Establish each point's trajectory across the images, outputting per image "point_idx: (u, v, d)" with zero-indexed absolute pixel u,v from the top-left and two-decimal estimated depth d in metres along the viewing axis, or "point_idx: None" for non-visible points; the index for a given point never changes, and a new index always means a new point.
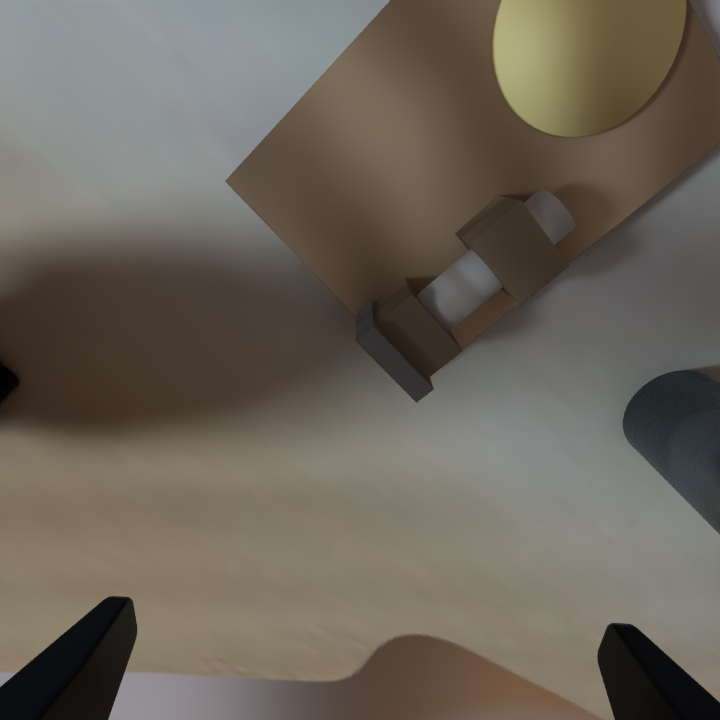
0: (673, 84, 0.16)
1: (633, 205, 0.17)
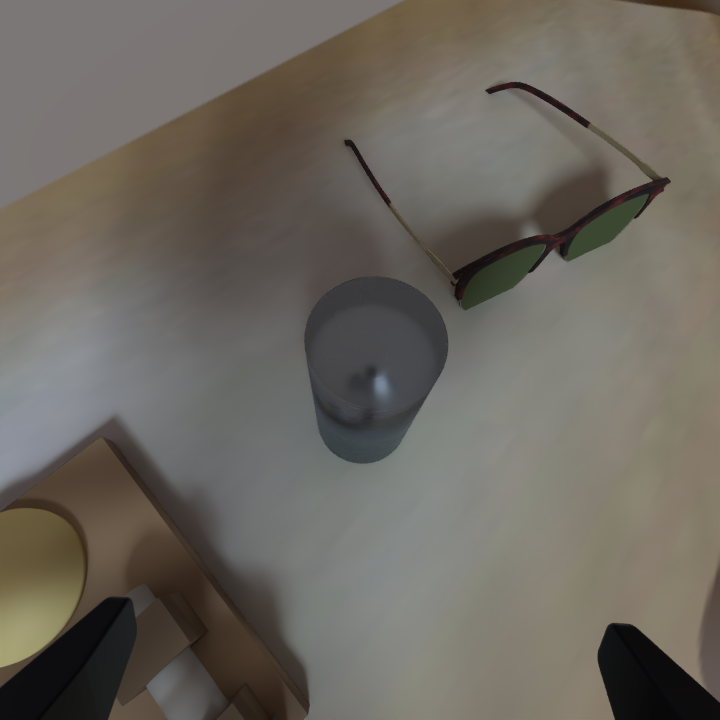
0: (64, 501, 0.21)
1: (151, 512, 0.21)
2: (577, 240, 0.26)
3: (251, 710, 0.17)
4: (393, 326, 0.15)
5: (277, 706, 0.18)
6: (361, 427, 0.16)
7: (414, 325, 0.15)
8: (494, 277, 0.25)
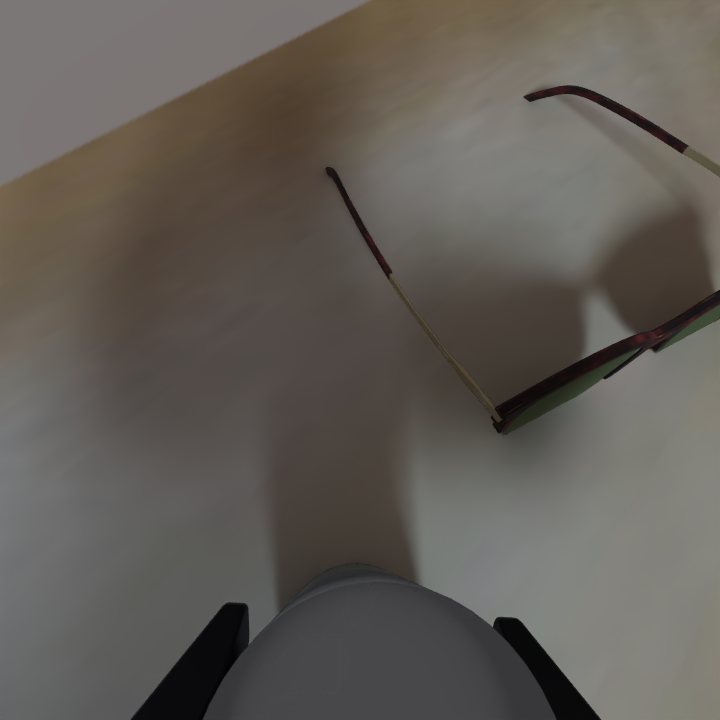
0: None
1: None
2: (682, 329, 0.17)
3: None
4: None
5: None
6: None
7: None
8: (556, 395, 0.16)
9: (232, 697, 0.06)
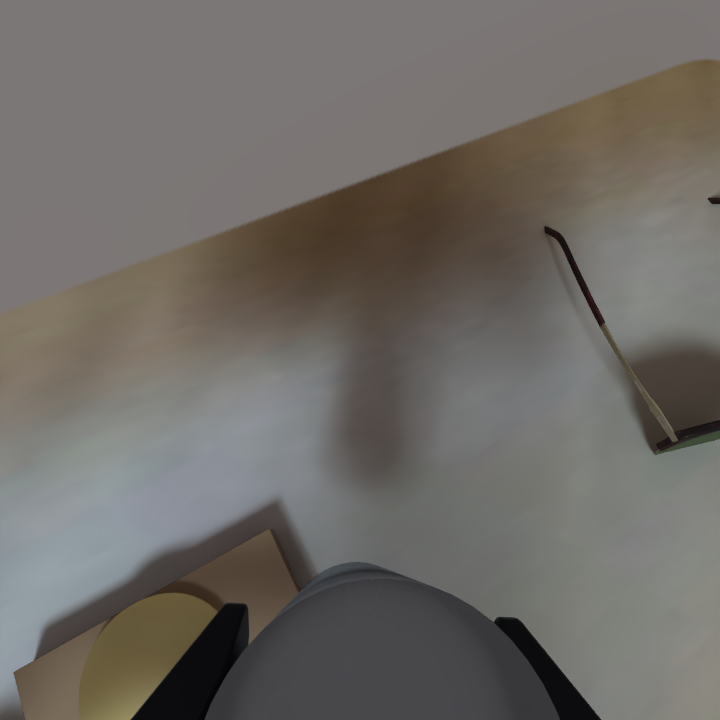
0: (224, 595, 0.20)
1: None
2: None
3: None
4: None
5: None
6: None
7: None
8: (708, 435, 0.22)
9: (235, 693, 0.06)
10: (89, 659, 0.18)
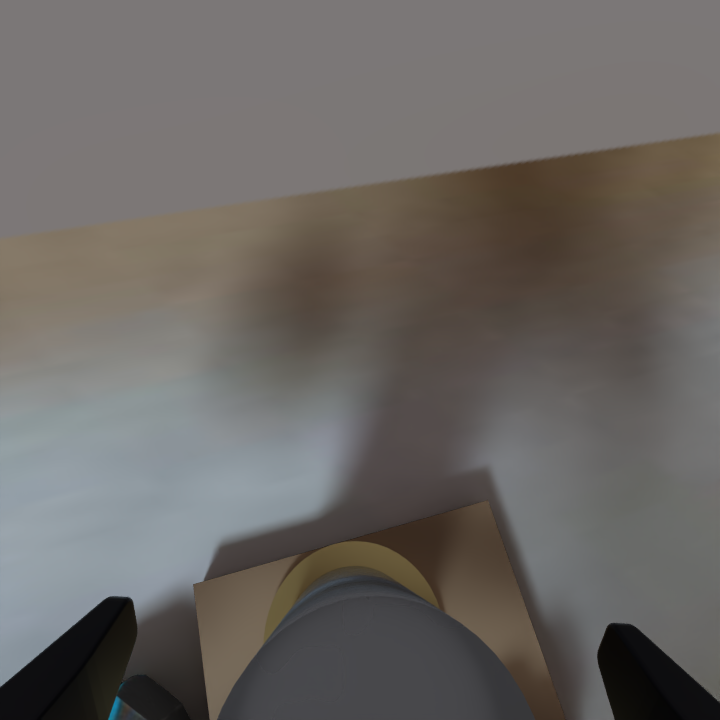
0: (431, 562, 0.17)
1: (529, 633, 0.16)
2: None
3: None
4: None
5: None
6: None
7: None
8: None
9: (242, 702, 0.06)
10: (279, 593, 0.16)
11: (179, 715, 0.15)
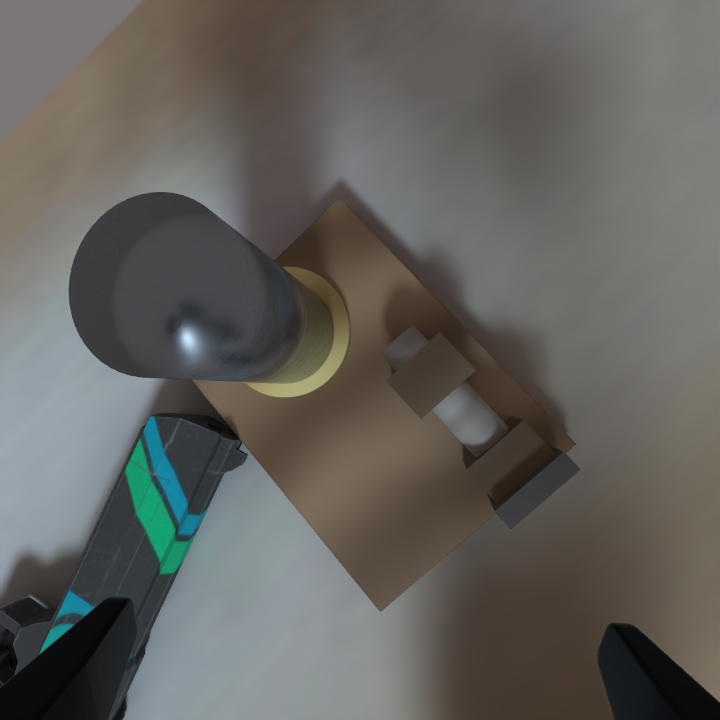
0: (316, 261, 0.22)
1: (401, 268, 0.21)
2: None
3: None
4: (163, 256, 0.11)
5: (545, 436, 0.19)
6: (225, 376, 0.14)
7: (185, 241, 0.11)
8: None
9: (76, 284, 0.12)
10: None
11: (205, 418, 0.23)
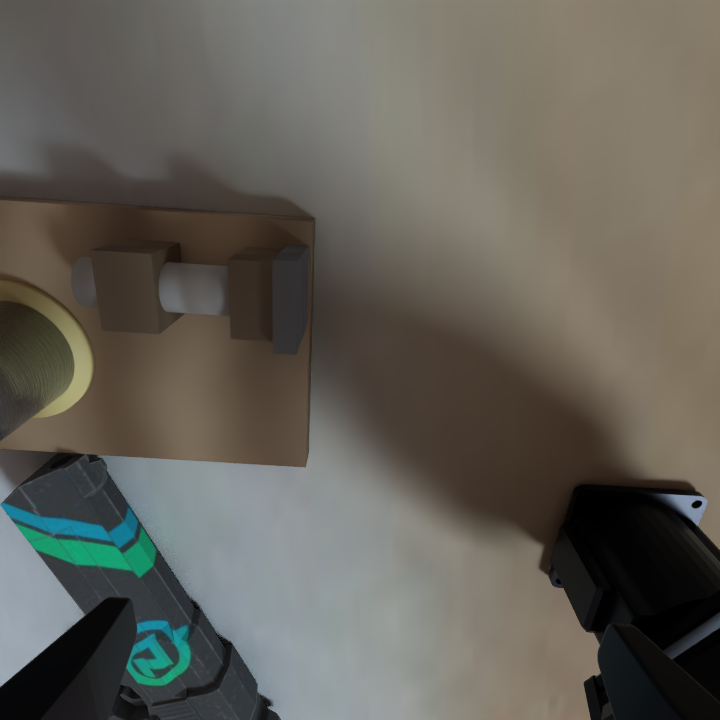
0: None
1: (28, 207, 0.17)
2: None
3: (257, 254, 0.16)
4: None
5: (284, 238, 0.18)
6: None
7: None
8: None
9: None
10: None
11: (50, 461, 0.22)
